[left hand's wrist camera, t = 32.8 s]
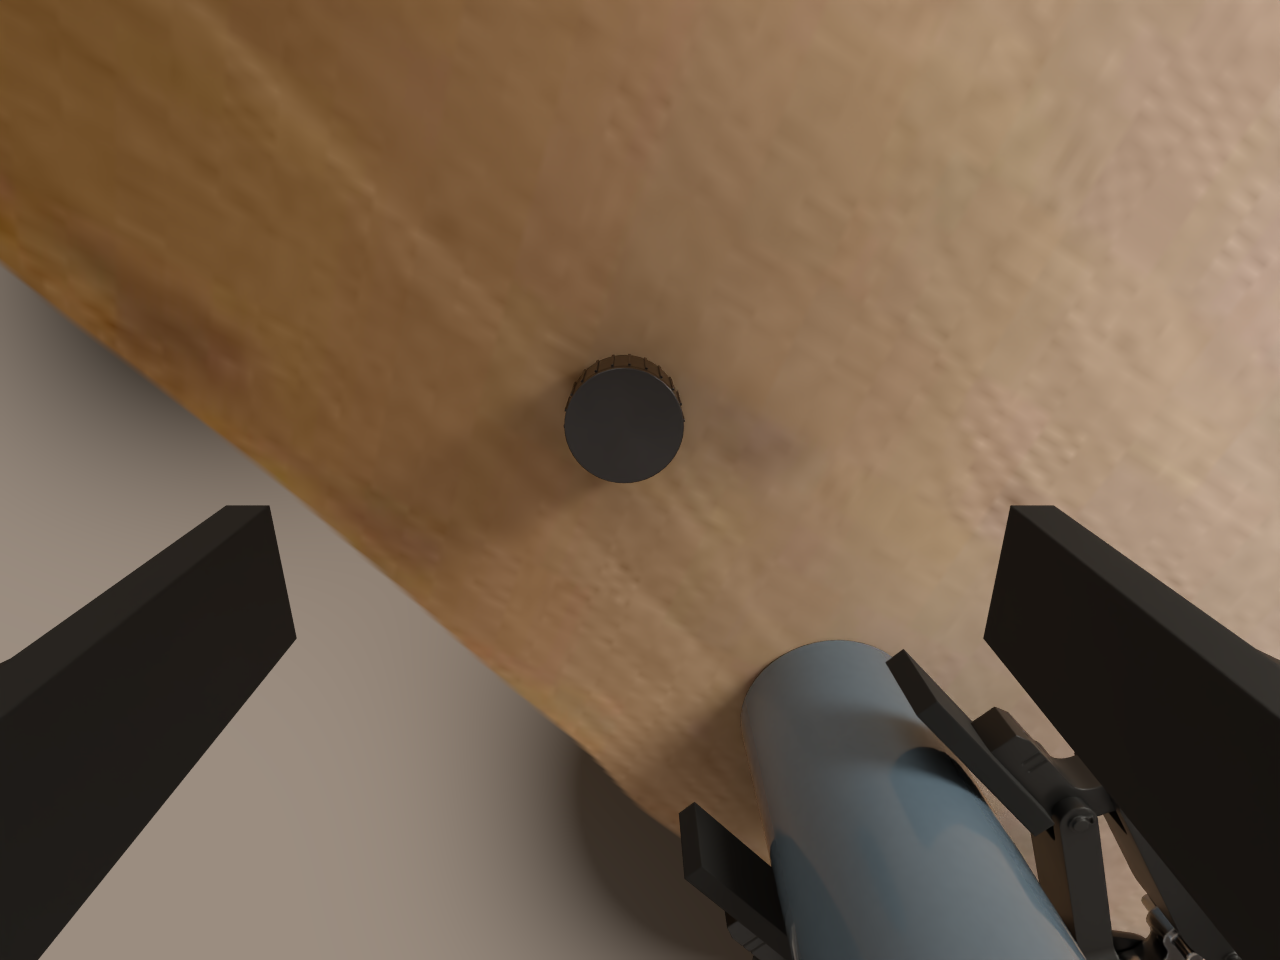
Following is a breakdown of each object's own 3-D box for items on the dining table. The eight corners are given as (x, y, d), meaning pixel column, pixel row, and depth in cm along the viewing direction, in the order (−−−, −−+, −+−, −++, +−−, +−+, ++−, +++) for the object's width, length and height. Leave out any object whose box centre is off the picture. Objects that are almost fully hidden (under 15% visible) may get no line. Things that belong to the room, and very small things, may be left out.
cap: (546, 418, 26) (538, 438, 23) (614, 329, 25) (612, 340, 22) (633, 482, 27) (634, 507, 24) (702, 399, 26) (710, 416, 23)
